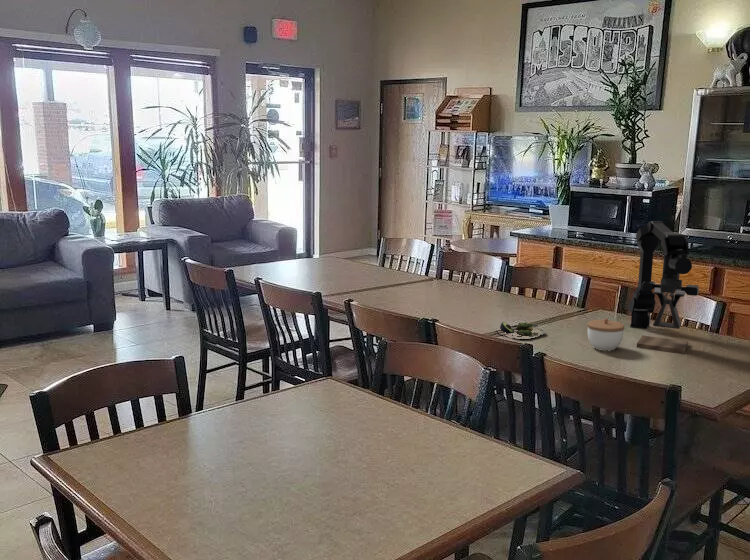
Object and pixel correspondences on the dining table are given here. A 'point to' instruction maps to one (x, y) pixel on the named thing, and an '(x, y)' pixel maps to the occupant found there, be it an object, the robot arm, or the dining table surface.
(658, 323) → the gray triangular stand
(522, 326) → the salad plate
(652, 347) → the walnut board
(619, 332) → the lidded bowl
